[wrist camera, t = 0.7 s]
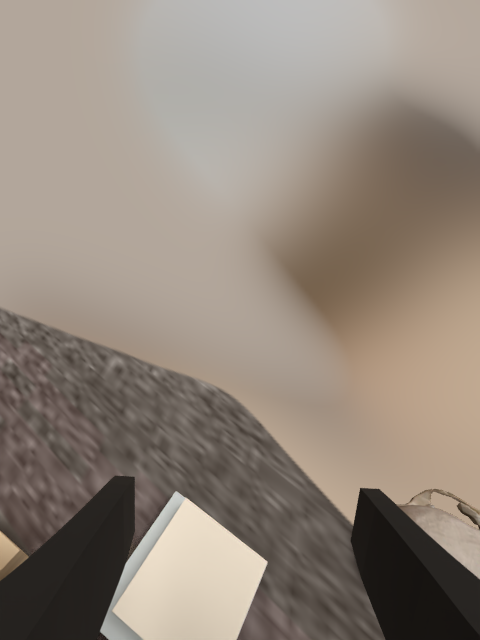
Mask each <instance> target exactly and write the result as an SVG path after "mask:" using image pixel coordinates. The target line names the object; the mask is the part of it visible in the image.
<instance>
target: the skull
mask: <svg viewBox="0 0 480 640" xmlns="http://www.w3.org/2000/svg"><path fill="white" fill-rule="evenodd" d="M433 491H434V492H437V493H440V494H443V495H446V496H449V497H452V498H454V499H456V500H457V501H459V502H460V503H459V504H458V505H457V507H458V509H459V510H460V512H461V513H462V514H464V515H466V516H468V517H469V518H470V519H471V520H472V522H473V523H474V524H476V525H478V527H479V529H476V528H474V527H472V526H470V525H469V524H467V523H465V522H464V521H462V520H461V519H459V518H458V517H456V516H453V515H452V514H449V513H447V512H445V511H443V510H441V509H437V508H435V507H434V505H431V506H430V504H431V500H430V499H431V493H432V492H433ZM397 506H398V507H399V508H400V509H401V510H402V511H404V512H405V513H406V514H407V515H408V516H409V517H410V518H411V519H412V520H413V521H414V522H415V523H416V524H417V525H419V526H420V527H421V528H422V529H423V530H424V531H425V532H426V533H427V534H428V535H429V536H431V537H432V538H433V539H434V540H435V541H436V542H437V543H438V544H439V545H441V546H442V547H443V548H444V549H445V550H446V551H447V552H448V553H450V554H451V555H452V556H453V557H454V558H455V559H456V560H458V561H459V562H460V563H461V564H462V565H464V566H465V567H466V568H467V569H468V570H469V571H471V572H472V573H473V574H474V575H475V576H477V577H478V578H479V579H480V510H478V509H476V508H475V507H473V506H471V505H470V504H468V503H467V502H465V501H463V500H462V499H460V498H458V497H456V496H455V495H453V494H451V493H449V492H446V491H443V490H438V489H433V490H432V489H431V490H425V491H424V492H422V493H420V494H418V495H416V496H415V497H413V498H412V499H411V501H410V502H409V503H407V504H405V505H397Z"/></svg>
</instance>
